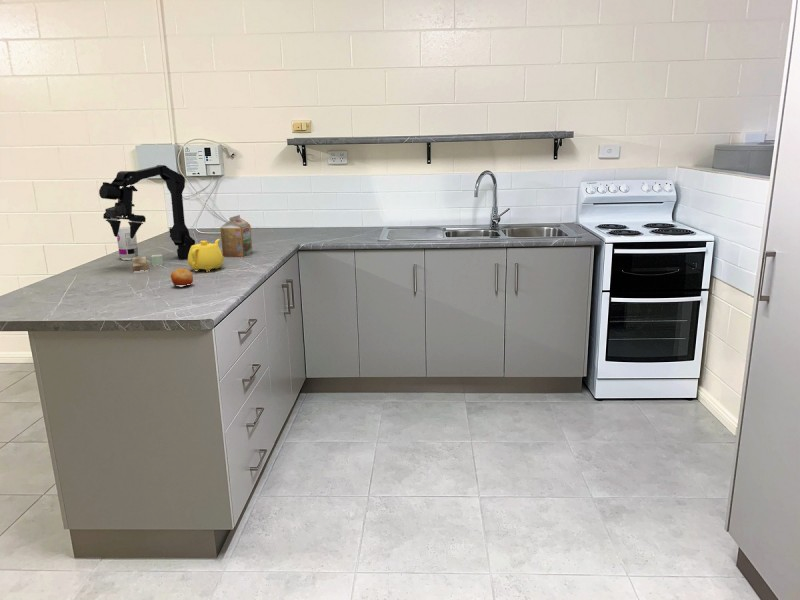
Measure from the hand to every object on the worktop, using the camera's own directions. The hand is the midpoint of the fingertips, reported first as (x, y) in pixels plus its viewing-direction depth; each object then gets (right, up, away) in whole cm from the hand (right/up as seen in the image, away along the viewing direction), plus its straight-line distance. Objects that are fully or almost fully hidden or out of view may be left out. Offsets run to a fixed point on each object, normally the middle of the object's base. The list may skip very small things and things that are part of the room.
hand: (123, 237), depth 263 cm
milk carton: (+40, -5, +35) cm, 54 cm away
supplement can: (-11, -8, +30) cm, 32 cm away
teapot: (+35, -14, +5) cm, 38 cm away
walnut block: (+7, -15, +1) cm, 17 cm away
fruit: (+35, -22, -26) cm, 48 cm away
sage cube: (+9, -11, +15) cm, 21 cm away
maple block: (+7, -12, +1) cm, 14 cm away
